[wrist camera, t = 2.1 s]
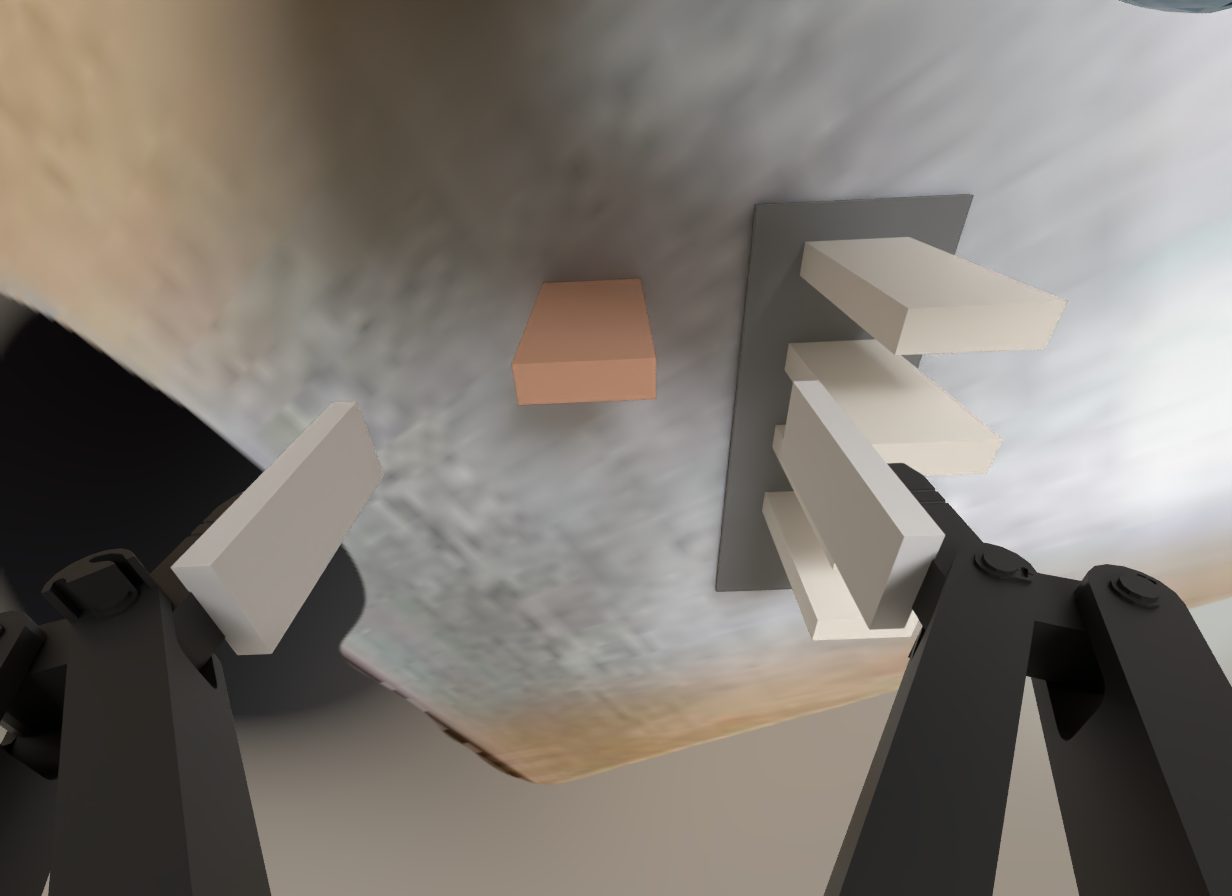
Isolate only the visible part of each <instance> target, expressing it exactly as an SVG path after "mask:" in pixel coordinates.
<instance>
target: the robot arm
mask: <svg viewBox="0 0 1232 896" xmlns="http://www.w3.org/2000/svg"><path fill="white" fill-rule="evenodd" d="M1120 1H1122V2H1125V3H1128V4H1132V5H1135V6H1139V7H1144V8H1149V9H1155V10H1161V11H1169V12H1187V13H1212V12H1216V11H1220V10H1224V9H1229V8H1232V0H1120ZM780 458H781V460H782V462H783V464H784V466H785V468H786V469H787V471H788V473H789V475H790V477H791V479H792V481H793V483H794V485H795V487H796V489H797V491H798V493H799V495H800V497H801V499H802V500H803V502H804V504H805V506H806V508H807V510H808V512H809V514H810V516H811V518H812V520H813V522H814V524H815V526H816V528H817V530H818V532H819V533H820V535H821V537H822V539H823V541H824V543H825V545H826V547H827V549H828V551H829V553H830V555H831V557H832V559H833V561H834V563H835V564H836V566H837V568H838V570H839V572H840V574H841V576H842V578H843V580H844V582H845V584H846V586H847V588H848V590H849V592H850V594H851V596H852V597H853V599H854V601H855V603H856V605H857V607H858V609H859V611H860V613H861V615H862V617H863V619H864V621H865V623H866V625H867V627H868V628H869V630H877V629H902V628H905V626H906V624H907V622H908V619H909V617H910V615H911V612H912V610H913V611H914V613H915V614H916V616H917V618H918V619H919V621H920V622H921V624H922V629H921V631H920V633H919V635H918V637H917V639H916V641H915V643H914V646H913V648H912V650H911V652H910V654H909V656H908V657H909V658H910V660H909V662H908V665H907V668H906V671H905V673H904V676H903V679H902V682H901V684H900V687H899V690H898V693H897V695H896V698H895V701H894V704H893V706H892V709H891V712H890V715H889V718H888V720H887V723H886V726H885V728H884V731H883V734H882V737H881V739H880V742H879V745H878V748H877V751H876V753H875V756H874V759H873V761H872V764H871V767H870V770H869V772H868V775H867V778H866V781H865V783H864V786H863V789H862V792H861V794H860V797H859V800H858V802H857V805H856V808H855V811H854V814H853V816H852V819H851V822H850V825H849V827H848V830H847V833H846V835H845V838H844V841H843V844H842V847H841V849H840V852H839V855H838V857H837V860H836V863H835V866H834V869H833V871H832V874H831V877H830V880H829V882H828V885H827V888H826V890H825V893H824V896H992V894H993V887H994V881H995V874H996V868H997V861H998V855H999V848H1000V842H1001V835H1002V829H1003V822H1004V816H1005V808H1006V803H1007V796H1008V789H1009V782H1010V777H1011V770H1012V763H1013V757H1014V750H1015V743H1016V737H1017V731H1018V724H1019V717H1020V711H1021V705H1022V698H1023V692H1024V685H1025V678H1026V676H1029V677H1031V679H1032V683H1033V688H1034V693H1035V697H1036V701H1037V706H1038V711H1039V715H1040V720H1041V724H1042V729H1043V733H1044V738H1045V742H1046V747H1047V751H1048V756H1049V761H1050V765H1051V769H1052V774H1053V778H1054V783H1055V787H1056V792H1057V796H1058V801H1059V806H1060V810H1061V814H1062V819H1063V824H1064V828H1065V832H1066V837H1067V842H1068V846H1069V851H1070V856H1071V860H1072V865H1073V869H1074V874H1075V878H1076V883H1077V887H1078V891H1079V896H1232V687H1231V685H1230V683H1229V682H1228V680H1227V678H1226V676H1225V674H1224V673H1223V671H1222V669H1221V667H1220V665H1219V664H1218V662H1217V660H1216V659H1215V657H1214V655H1213V653H1212V651H1211V649H1210V648H1209V646H1208V644H1207V642H1206V641H1205V639H1204V637H1203V635H1202V633H1201V632H1200V630H1199V629H1198V626H1197V625H1196V623H1195V621H1194V620H1193V618H1192V616H1191V614H1190V612H1189V610H1188V609H1187V607H1186V605H1185V604H1184V602H1183V601H1182V600H1181V599H1180V598H1179V596H1178V595H1177V594H1176V593H1175V592H1174V591H1172V590H1171V589H1170V588H1168V587H1167V586H1166V585H1164V584H1163V583H1161V582H1160V581H1158V580H1156V579H1154V578H1153V577H1151V576H1148V575H1146V574H1144V573H1142V572H1139V571H1136V570H1133V569H1130V568H1127V567H1124V566H1116V565H1109V564H1105V565H1098V566H1094V567H1093V568H1092V569H1091V570H1090V571H1088V573H1087V574H1086V576H1085V577H1084V578H1083V580H1082V581H1078V580H1073V579H1067V578H1062V577H1056V576H1051V575H1046V574H1040V573H1037V572H1036V570H1035V569H1034V568H1033V567H1032V565H1031V564H1030V563H1029V562H1027V561H1026V560H1025V559H1023V558H1022V557H1020V556H1019V555H1018V554H1016V553H1014V552H1012V551H1009V550H1007V549H1005V548H1003V547H1000V546H996V545H992V544H988V543H983V542H982V541H981V540H980V538H979V537H978V536H977V535H976V534H975V533H974V532H973V531H972V530H971V528H970V527H969V526H968V525H967V524H966V523H965V522H964V521H963V519H962V518H961V517H960V516H959V515H958V514H957V513H956V512H955V510H954V509H953V508H952V507H951V506H950V505H949V504H948V503H945V499H944V498H943V497H942V496H941V495H940V494H939V493H938V491H937V492H935V488H934V487H933V486H932V485H931V484H930V482H929V481H928V480H927V479H926V478H925V477H924V476H923V475H922V474H921V473H919V472H917V471H916V470H914V469H913V468H911V467H909V466H908V465H906V464H904V463H886V462H885V461H884V459H883V458H882V457H881V456H880V454H879V453H878V452H877V451H876V450H875V448H874V447H873V446H872V445H871V443H870V442H869V441H868V440H867V439H866V437H865V436H864V435H863V434H862V432H861V431H860V430H859V429H858V428H857V426H856V425H855V424H854V423H853V421H852V420H851V419H850V418H849V417H848V415H847V414H846V413H845V412H844V410H843V409H842V408H841V407H840V406H839V404H838V403H837V402H836V401H835V399H834V398H833V397H832V396H831V395H830V393H829V392H828V391H827V390H826V388H825V387H824V386H823V385H822V384H821V382H820V381H819V380H814V381H793V385H792V391H791V397H790V403H789V409H788V415H787V421H786V426H785V432H784V438H783V444H782V450H781V456H780ZM383 476H384V472H383V470H382V467H381V464H380V461H379V459H378V456H377V453H376V451H375V448H374V445H373V443H372V440H371V437H370V435H369V432H368V429H367V427H366V424H365V421H364V419H363V416H362V413H361V410H360V408H359V405H358V402H357V401H349V402H332V403H331V404H330V405H329V406H328V407H327V408H326V409H325V410H324V411H323V412H322V413H321V414H320V415H319V416H318V417H317V418H316V419H315V420H314V421H313V422H312V423H311V424H310V425H309V426H308V427H307V428H306V429H305V430H304V431H303V432H302V433H301V434H300V435H299V436H298V437H297V438H296V439H295V440H294V441H293V443H292V444H291V445H290V446H289V447H288V448H287V449H286V450H285V451H284V452H283V453H282V454H281V455H280V456H279V457H278V458H277V459H276V460H275V461H274V462H273V463H272V464H271V465H270V466H269V467H268V468H267V469H266V470H265V471H264V472H263V473H262V474H261V475H260V476H259V477H258V478H257V479H256V480H255V481H254V483H252V484H251V486H250V487H249V488H248V489H247V490H246V491H245V492H244V493H239V494H237V495H236V496H234V497H232V498H231V499H229V500H228V501H226V502H224V503H223V504H221V505H220V506H218V507H217V508H216V509H215V510H214V511H213V512H212V513H211V514H210V515H209V516H208V517H207V518H206V519H205V520H204V521H203V522H204V523H203V524H200V525H199V526H198V527H197V528H196V529H195V530H194V531H193V532H192V533H191V537H187V538H186V539H185V540H184V541H183V542H182V543H181V544H180V545H179V546H178V547H177V548H176V549H175V550H174V551H173V552H172V553H171V554H170V555H169V556H168V557H167V558H166V559H165V560H164V561H163V562H162V563H161V564H160V565H159V566H158V567H157V568H156V569H155V570H154V571H153V572H152V573H151V574H149V573H148V571H147V570H146V569H145V568H144V566H143V565H142V564H141V563H140V562H139V560H138V559H137V558H136V556H135V555H134V554H133V553H132V552H131V551H130V550H126V549H112V550H106V551H103V552H99V553H96V554H93V555H90V556H87V557H85V558H83V559H81V560H79V561H77V562H75V563H72V564H71V565H69V566H68V567H66V568H65V569H63V570H62V571H60V572H58V573H57V574H56V575H55V576H54V577H53V578H51V579H50V580H49V581H48V582H47V583H46V584H45V586H44V588H43V590H42V592H41V595H42V596H44V598H46V599H47V600H48V601H49V602H50V603H51V604H52V605H53V606H54V607H55V608H56V609H57V610H58V611H59V612H60V613H61V614H62V615H63V616H64V617H65V618H66V619H63V620H60V621H55V622H52V623H48V624H44V625H40V626H37V625H36V624H35V623H34V622H33V621H32V620H31V619H30V618H29V617H27V615H26V614H25V613H23V612H21V611H8V612H3V613H0V725H1V726H2V727H3V728H5V729H6V730H7V733H6V735H5V737H4V739H3V741H2V742H1V744H0V896H41V895H42V892H43V890H44V887H45V884H46V881H47V878H48V876H49V873H50V881H49V893H48V896H271V892H270V888H269V883H268V879H267V874H266V869H265V865H264V860H263V855H262V851H261V846H260V841H259V837H258V832H257V827H256V823H255V818H254V813H253V809H252V804H251V800H250V795H249V790H248V786H247V781H246V776H245V772H244V768H243V763H242V758H241V753H240V749H239V744H238V740H237V735H236V730H235V726H234V722H233V716H232V712H231V707H230V703H229V698H228V693H227V689H226V684H225V679H224V675H223V670H222V665H221V663H220V661H219V660H218V658H217V657H216V656H215V654H214V652H215V650H216V649H217V648H218V646H219V645H220V643H221V642H222V641H223V639H224V638H225V639H226V641H227V642H228V643H229V645H230V646H231V647H232V649H233V650H234V651H235V653H237V655H250V654H272V652H273V651H274V649H275V648H276V646H277V645H278V643H279V641H280V640H281V638H282V637H283V635H284V633H285V632H286V630H287V629H288V627H289V626H290V624H291V622H292V621H293V619H294V618H295V616H296V614H297V613H298V611H299V610H300V608H301V606H302V605H303V603H304V602H305V600H306V598H307V597H308V595H309V594H310V592H311V590H312V589H313V587H314V586H315V584H316V583H317V581H318V579H319V578H320V576H321V575H322V573H323V571H324V570H325V568H326V567H327V565H328V563H329V562H330V560H331V559H332V557H333V555H334V554H335V552H336V551H337V549H338V547H339V546H340V544H341V543H342V541H343V540H344V538H345V536H346V535H347V533H348V532H349V530H350V529H351V527H352V525H353V524H354V522H355V521H356V519H357V517H358V516H359V514H360V513H361V511H362V509H363V508H364V506H365V505H366V503H367V501H368V500H369V498H370V497H371V495H372V494H373V492H374V490H375V489H376V487H377V486H378V484H379V482H380V481H381V479H382V478H383Z"/></svg>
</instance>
